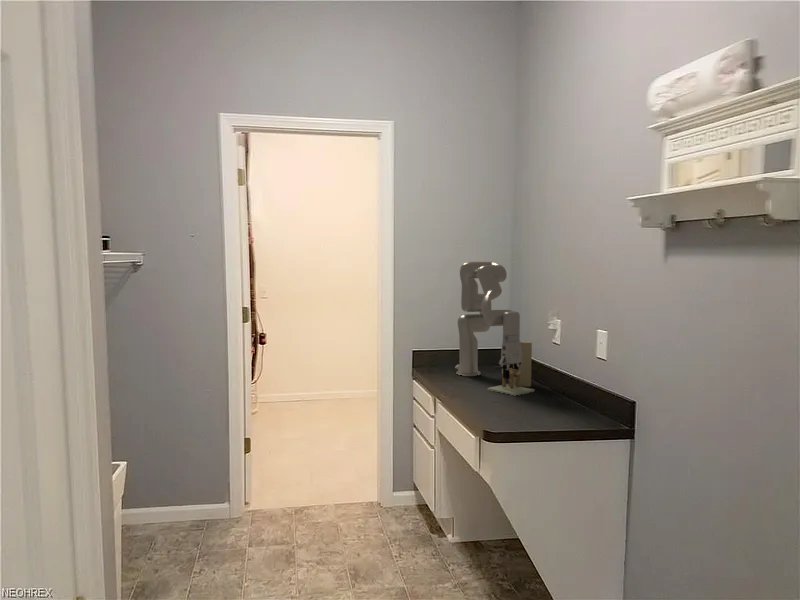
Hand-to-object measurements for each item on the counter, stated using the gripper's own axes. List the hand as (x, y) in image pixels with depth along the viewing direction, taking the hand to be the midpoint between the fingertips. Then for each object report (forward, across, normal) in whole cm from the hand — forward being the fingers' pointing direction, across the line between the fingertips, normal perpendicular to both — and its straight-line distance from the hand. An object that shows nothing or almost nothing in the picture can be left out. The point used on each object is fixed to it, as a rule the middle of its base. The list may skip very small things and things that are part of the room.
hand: (510, 377), depth 267 cm
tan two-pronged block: (+5, 0, 0) cm, 5 cm away
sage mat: (+6, 0, 0) cm, 6 cm away
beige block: (+7, +14, +5) cm, 16 cm away
